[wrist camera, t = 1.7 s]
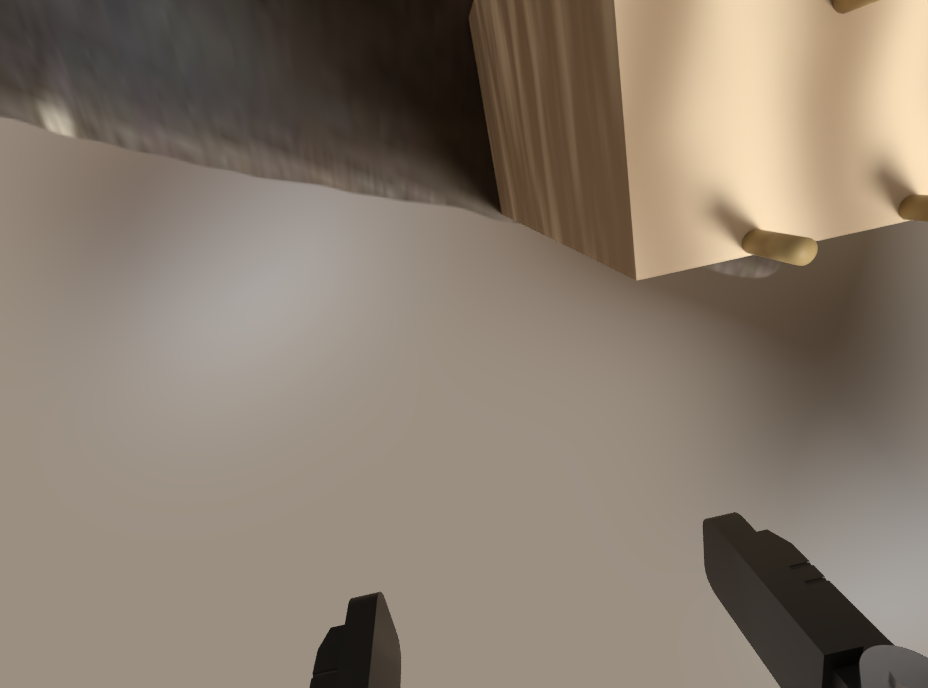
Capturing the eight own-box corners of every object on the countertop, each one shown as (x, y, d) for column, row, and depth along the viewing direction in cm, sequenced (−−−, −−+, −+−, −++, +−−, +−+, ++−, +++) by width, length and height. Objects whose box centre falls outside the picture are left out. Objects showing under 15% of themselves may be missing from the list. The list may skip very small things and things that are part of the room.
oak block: (501, 214, 48) (668, 296, 16) (468, 17, 42) (623, -495, 10) (648, 182, 48) (1113, 198, 16) (635, -18, 43) (1323, -634, 10)
